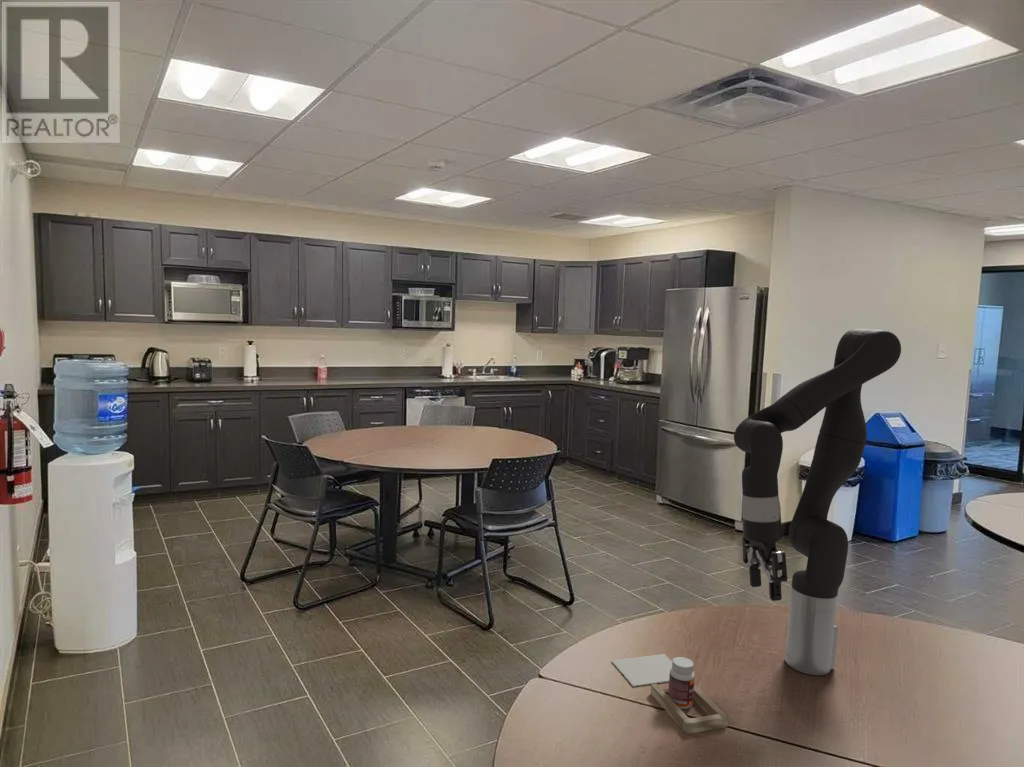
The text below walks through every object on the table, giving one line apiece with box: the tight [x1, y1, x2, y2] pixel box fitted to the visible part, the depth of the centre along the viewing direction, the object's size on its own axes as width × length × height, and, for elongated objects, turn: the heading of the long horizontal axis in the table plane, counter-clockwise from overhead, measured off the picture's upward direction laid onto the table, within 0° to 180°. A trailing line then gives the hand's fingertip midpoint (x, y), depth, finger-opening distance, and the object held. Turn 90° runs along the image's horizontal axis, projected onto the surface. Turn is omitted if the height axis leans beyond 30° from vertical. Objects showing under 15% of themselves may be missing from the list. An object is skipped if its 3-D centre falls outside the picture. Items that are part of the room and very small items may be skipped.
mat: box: [611, 653, 673, 688], centre depth 139 cm, size 13×10×1 cm
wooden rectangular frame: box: [649, 684, 729, 735], centre depth 125 cm, size 9×13×2 cm, turn 18°
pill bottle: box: [667, 656, 696, 710], centre depth 127 cm, size 5×5×8 cm
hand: (765, 592), depth 136 cm, fingers open, 8 cm apart
